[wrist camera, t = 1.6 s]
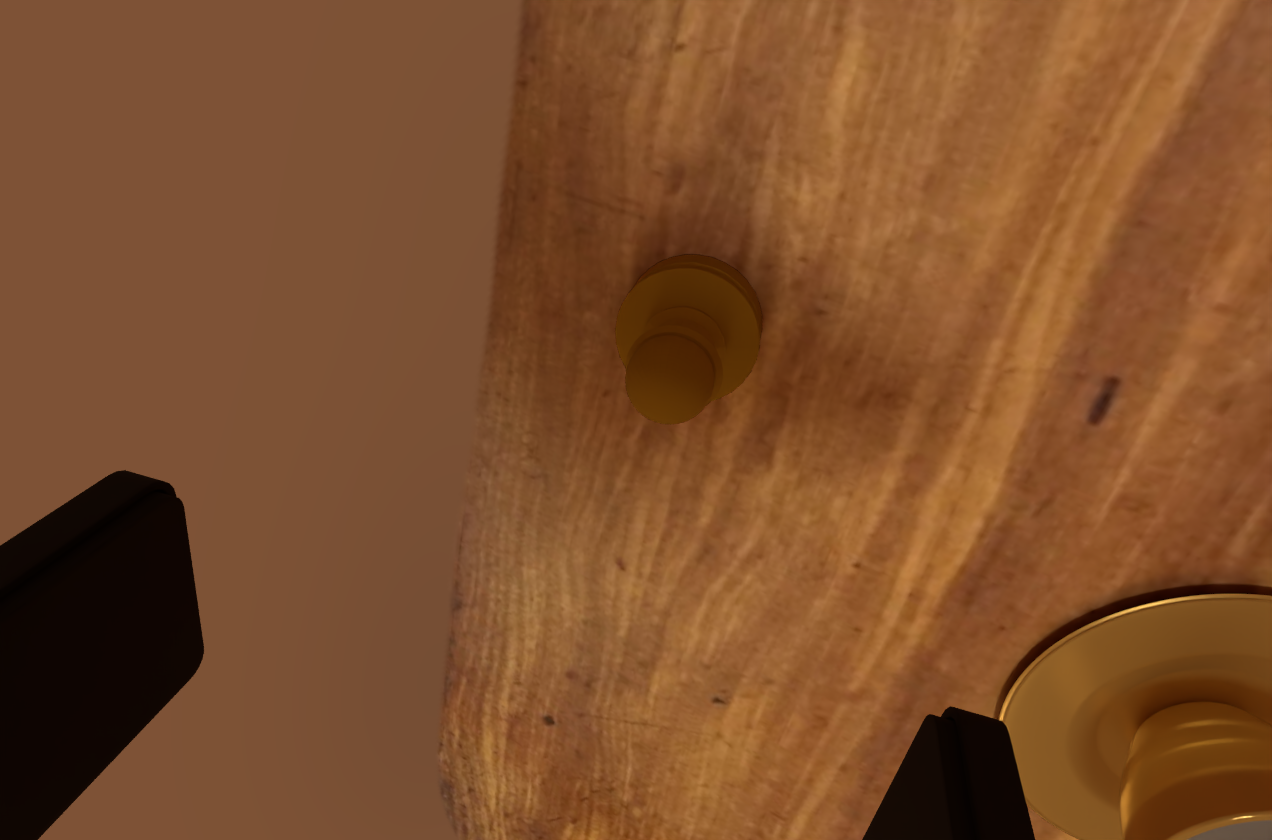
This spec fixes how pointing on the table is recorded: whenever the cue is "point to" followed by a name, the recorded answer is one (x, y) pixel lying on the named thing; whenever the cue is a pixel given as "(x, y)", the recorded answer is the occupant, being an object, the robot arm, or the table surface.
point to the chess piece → (687, 336)
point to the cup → (1152, 723)
